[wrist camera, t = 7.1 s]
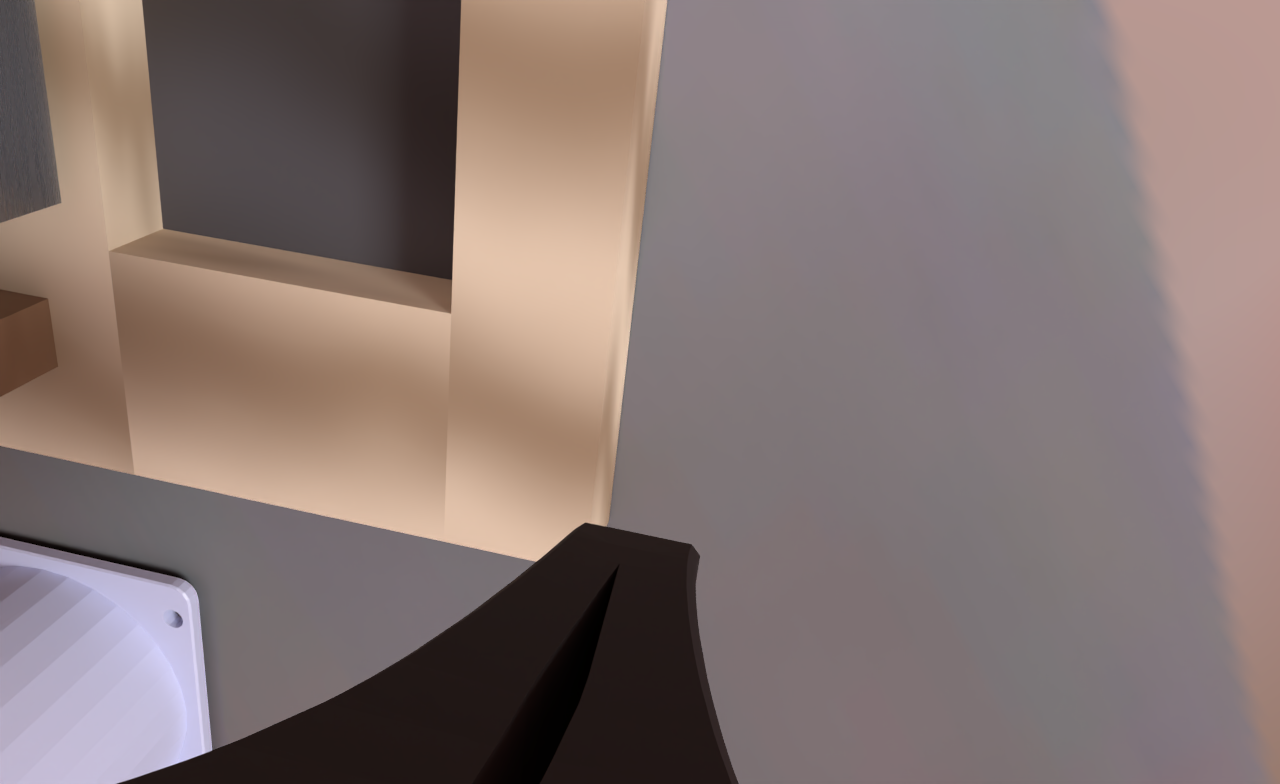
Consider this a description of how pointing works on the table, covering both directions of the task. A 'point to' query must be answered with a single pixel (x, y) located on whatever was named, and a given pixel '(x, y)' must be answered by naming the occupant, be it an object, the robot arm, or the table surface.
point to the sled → (24, 116)
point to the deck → (344, 254)
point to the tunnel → (24, 339)
